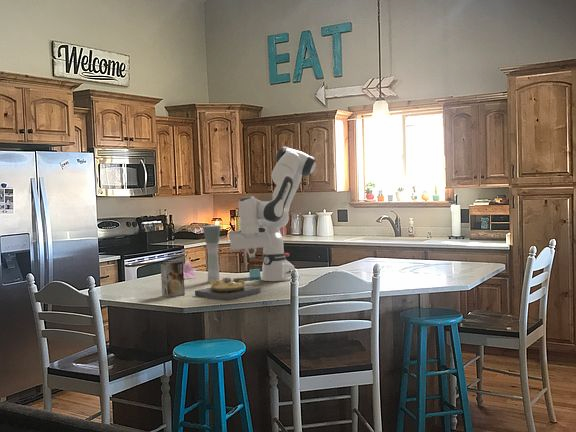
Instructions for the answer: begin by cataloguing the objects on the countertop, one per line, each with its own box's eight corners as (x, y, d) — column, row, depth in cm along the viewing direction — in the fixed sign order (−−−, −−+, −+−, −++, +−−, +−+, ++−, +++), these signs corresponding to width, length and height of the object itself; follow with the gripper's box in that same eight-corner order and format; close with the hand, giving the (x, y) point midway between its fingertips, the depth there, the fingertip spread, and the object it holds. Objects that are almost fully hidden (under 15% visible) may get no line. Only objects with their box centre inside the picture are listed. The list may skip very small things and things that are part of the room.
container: (201, 282, 349) (199, 226, 347) (211, 279, 357) (209, 225, 356) (216, 283, 345) (213, 226, 343) (226, 280, 353) (223, 225, 351)
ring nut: (214, 292, 300) (213, 274, 299) (208, 287, 316) (207, 270, 315) (264, 288, 307) (264, 271, 306) (256, 283, 322) (255, 266, 322)
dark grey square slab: (228, 288, 326) (227, 283, 326) (260, 292, 312) (260, 287, 311) (195, 295, 309) (194, 290, 309) (227, 300, 295) (227, 294, 295)
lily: (173, 282, 361) (178, 267, 358) (172, 271, 371) (177, 257, 368) (194, 287, 365) (199, 272, 362) (192, 276, 375) (198, 262, 372)
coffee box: (179, 293, 318) (177, 260, 317) (185, 294, 313) (183, 261, 312) (161, 295, 313) (160, 262, 312) (167, 297, 308) (166, 263, 307)
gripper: (228, 232, 315) (230, 260, 316) (270, 228, 316) (272, 256, 317) (228, 230, 321) (230, 258, 322) (269, 227, 322) (272, 254, 323)
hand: (252, 257), depth 319 cm, fingers closed
